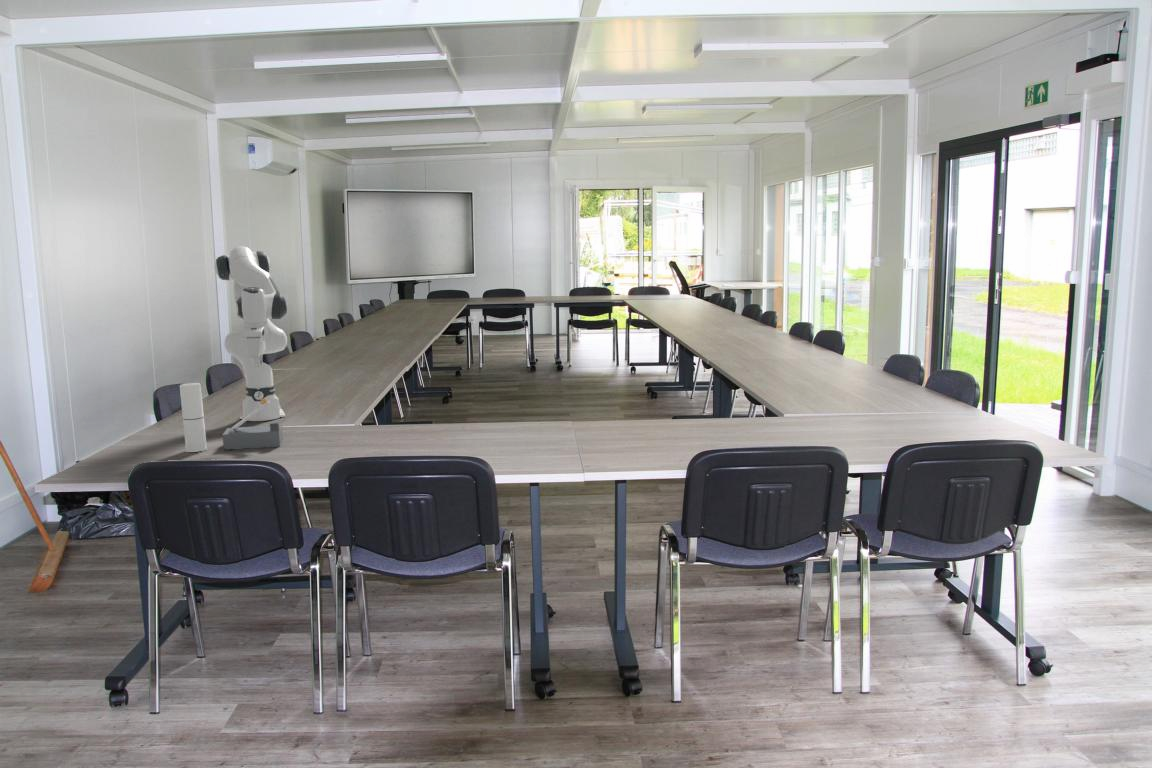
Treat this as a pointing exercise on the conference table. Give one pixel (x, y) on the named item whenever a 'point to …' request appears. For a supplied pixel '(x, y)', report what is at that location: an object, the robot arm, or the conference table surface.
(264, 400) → the lever
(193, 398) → the cylindrical container
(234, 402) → the conference table surface
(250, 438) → the clamp block
